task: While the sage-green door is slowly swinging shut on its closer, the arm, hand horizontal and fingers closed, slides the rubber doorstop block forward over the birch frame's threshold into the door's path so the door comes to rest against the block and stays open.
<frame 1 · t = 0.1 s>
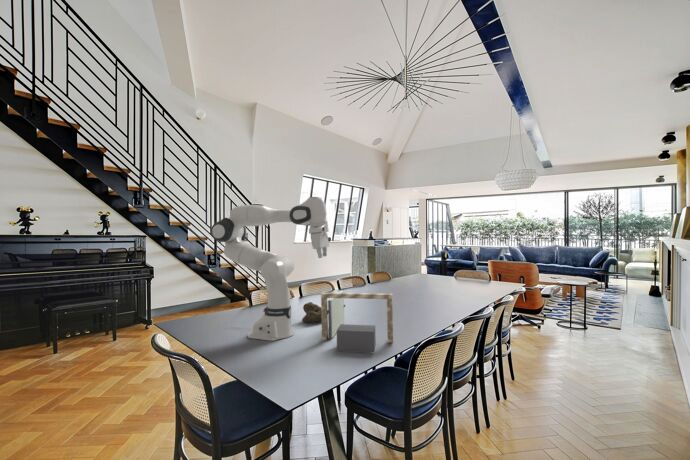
hand: (322, 257, 152), 39 cm above the table, tool pointing down, fingers open, 8 cm apart
doorstop block: (356, 348, 135), on the table
decorative stone: (315, 321, 179), on the table
door frame: (359, 340, 144), on the table
door: (336, 312, 159), point 10 cm above the table, hinge at 86.5°
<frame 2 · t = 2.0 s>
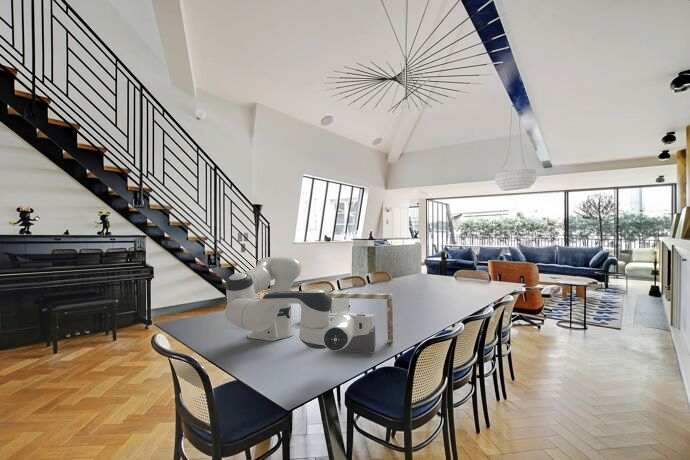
hand: (350, 314, 122), 18 cm above the table, tool horizontal, fingers open, 8 cm apart
door: (339, 312, 159), point 10 cm above the table, hinge at 80.0°
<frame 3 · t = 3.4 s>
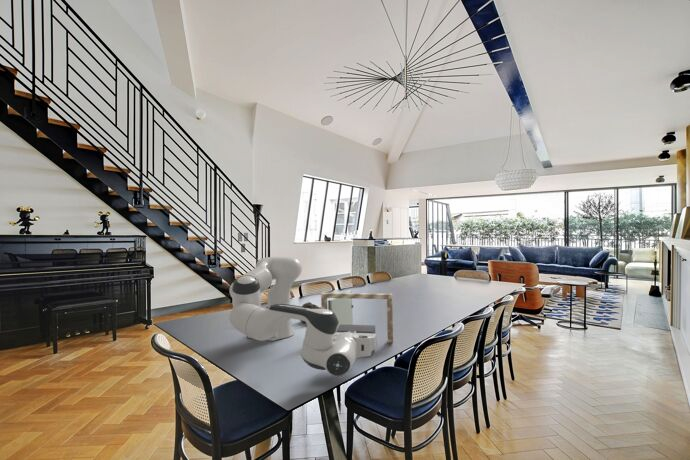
hand: (352, 332, 122), 11 cm above the table, tool horizontal, fingers closed
door: (341, 312, 159), point 10 cm above the table, hinge at 76.0°
everything else where it was.
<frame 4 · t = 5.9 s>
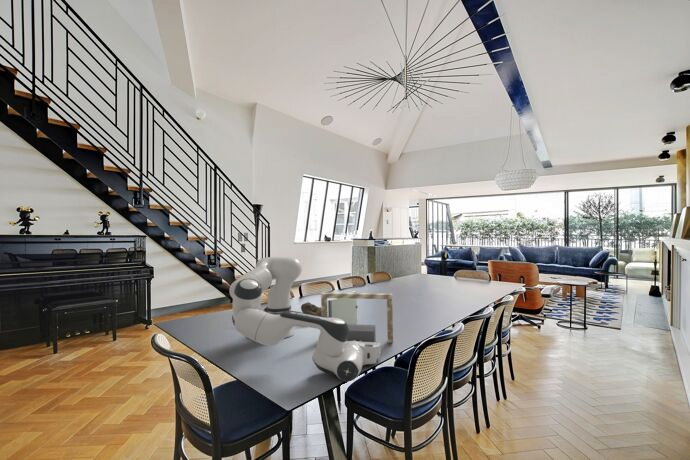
hand: (357, 341, 131), 4 cm above the table, tool horizontal, fingers closed
doorstop block: (356, 348, 136), on the table, touching gripper
door: (343, 313, 158), point 10 cm above the table, hinge at 70.2°
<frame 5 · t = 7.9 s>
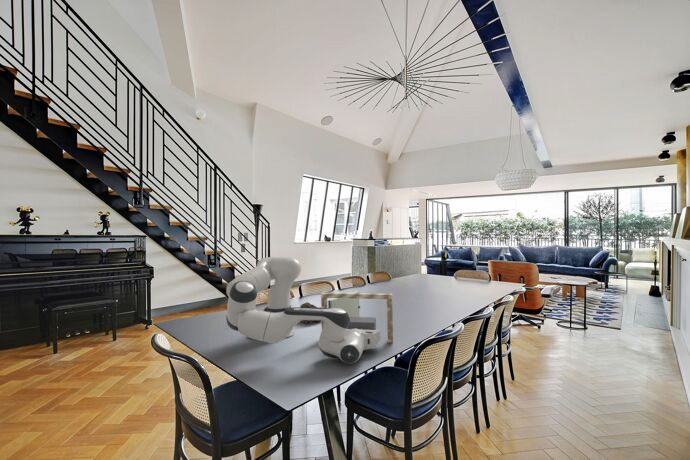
hand: (359, 329, 143), 5 cm above the table, tool horizontal, fingers closed
doorstop block: (358, 338, 148), on the table
door: (344, 313, 158), point 10 cm above the table, hinge at 66.7°
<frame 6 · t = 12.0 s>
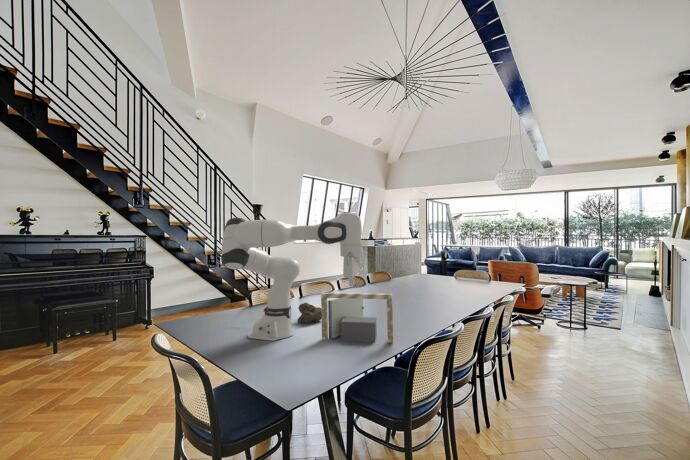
hand: (351, 285, 125), 29 cm above the table, tool pointing down, fingers closed
door: (346, 313, 157), point 10 cm above the table, hinge at 61.4°
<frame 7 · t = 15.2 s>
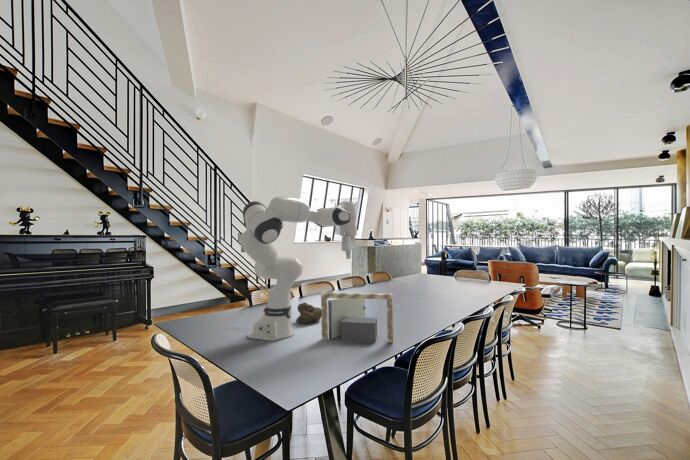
hand: (348, 258, 161), 37 cm above the table, tool pointing down, fingers closed
door: (347, 313, 156), point 10 cm above the table, hinge at 58.7°
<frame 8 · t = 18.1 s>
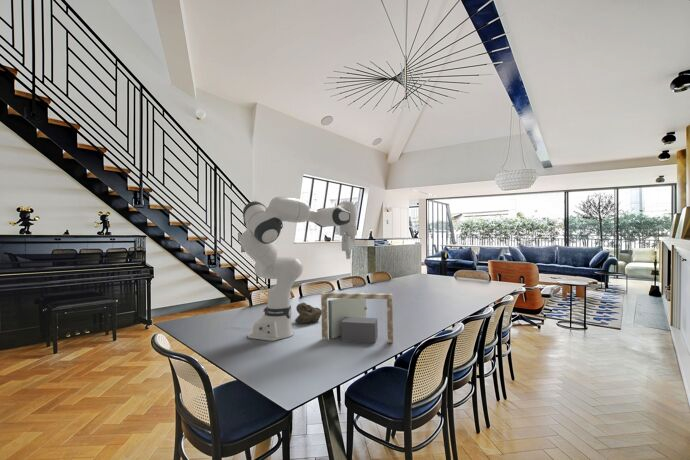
hand: (348, 258, 161), 37 cm above the table, tool pointing down, fingers closed
door: (348, 313, 156), point 10 cm above the table, hinge at 56.9°
at the end: door at +57° (first picture: +87°); doorstop block inside the target area (1.8 cm from its centre), on the table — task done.
